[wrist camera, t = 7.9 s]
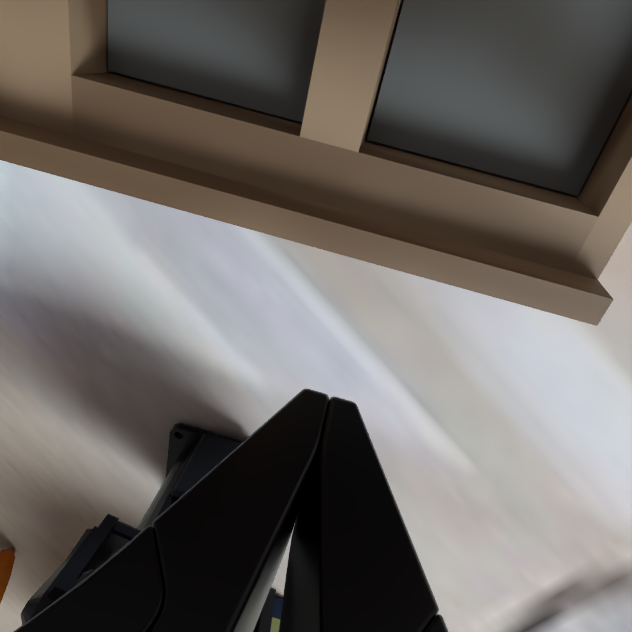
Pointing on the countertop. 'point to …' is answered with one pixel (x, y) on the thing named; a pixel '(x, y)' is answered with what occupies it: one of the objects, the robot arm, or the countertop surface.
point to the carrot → (5, 569)
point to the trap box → (349, 126)
